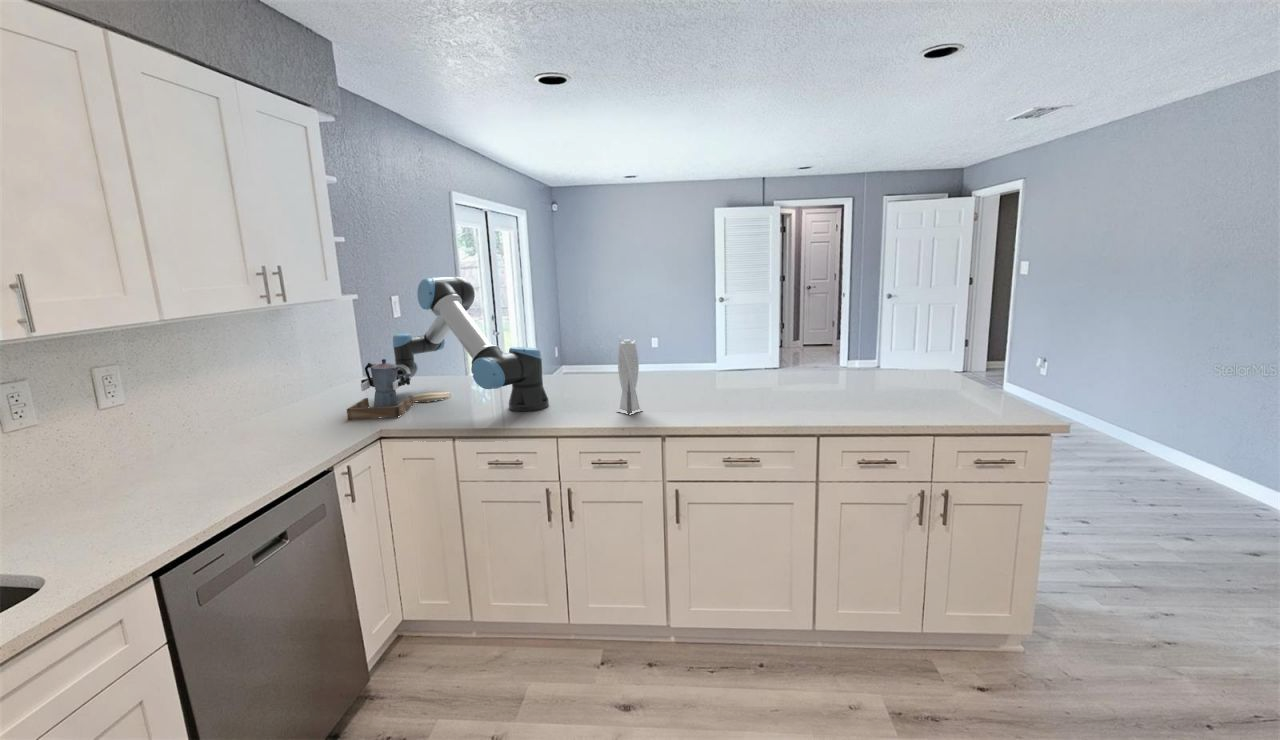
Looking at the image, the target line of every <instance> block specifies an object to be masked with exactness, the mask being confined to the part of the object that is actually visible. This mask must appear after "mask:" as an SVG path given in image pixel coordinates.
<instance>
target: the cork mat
mask: <svg viewBox="0 0 1280 740" xmlns="http://www.w3.org/2000/svg"><path fill="white" fill-rule="evenodd" d="M412 396H413V401H418V402H427V401H435V400H441V399H445V398H448V397H450V396H451V397H452V393H451V392H449V391H443V390H442V391H439V390H438V391H435V390H434V391H427V392H421V393H418V394H415V395H412ZM451 397H450V398H451ZM448 399H449V398H448ZM445 400H446V399H445ZM441 401H442V400H441Z"/></svg>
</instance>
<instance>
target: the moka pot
mask: <svg viewBox="0 0 1280 740" xmlns="http://www.w3.org/2000/svg"><path fill="white" fill-rule="evenodd" d="M369 368H370V372H371V375H370V372H369ZM398 370H399V368H398V365H396V364H394V363H387V360H386V359H385V358H384V359H381V363H378V364H376V363H371V362H367V364H366V366H365V367H364V372H365V375H366V376H367V377H366V379H367V378H368V380H369V384H370V388H371V387H372V388H374V391H375V392H374V399H373V400H374V402H373V407H392V406H397V405H398V404H399V402H398V397H397V396H398V395H397V391H396V390H397V389H396V390H393V382H395V381H396V380H397V372H398ZM370 377H372V378H373V384H374V385H373V384H372V381H371V378H370Z"/></svg>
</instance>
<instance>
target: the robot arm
mask: <svg viewBox="0 0 1280 740" xmlns="http://www.w3.org/2000/svg"><path fill="white" fill-rule="evenodd" d="M416 293H417V294H416V295H417V301H418V304H419V307H421V309H423V310H426V311H428V310H431V311H432V313H433V314H434V315H435V316H436V318H435V319H434V320H433V322H432V324H431V325H430V327H429V328H428V329H427V331H426V332H425V333H424V335H417V336H412V334H411V333H397V334H394V335H392V347H393V353H394V361H395V365H398V368H399V370H398V372H397V380H396V381H395V382H393V390H398V389H399V388H400V387H402V386H405V385H407V386H409V385H411V380H412V379H411V378H413V377H414V376H415V375H416V374H417V372H418V369H419V368H418V367H419V366H418V364H417V363H416V361H415V357H414V355H419V354H424V353H430V352H438V351H440V350H443V349H444V348H445V344H446V341H445V337H446V336H447V335H448V334H449V332H450V331H451V332H452V334H454V336H455V337H456V338H457V340H458V341H459V343H460V344H461V345H462V346H463V348H464V349H465V351H466V352H467V353H468V355H469V356H470V357H471V368H470V370H471V374H472V378H473V381H474V382H475V383H476V385H478V386H479V387H480V388H482V389H484V390H497V389H500V388H502V387H506V386H509V385H511V386H512V387H511V392H510V396H509V399H508V400H509V401H508V409H509V410H511V411H514V412H533V411H540V410H543V409H547V408H548V407H549V405H550V404H549V397H548V395H547V393H546V390H545V387H544V382H543V365H542V363H543V362H542V361H543V360H542V353H541V351H540V349H538V348H536V347H535V348H534V347H525V346H523V347H522V346H520V347H519V346H515V347H513V346H512V347H509V350H508V352H505V353H504V352H503V351H502V349H501V348H500V347H499V346H498V345H495V344H494V345H493V344H492V343H491V342H490V340H488V339H489V338H488V337H486V335H485V334H484V333H483V331H482V329H480V328H479V326H478V325H477V323H476V322H475V321H474V319H473V318H472V317H471V316H470V314H469V313H468V312H467V311H469V309H470V308H471V307H472V305H473V303H474V300H475V296H476V295H475V294H476V293H475V289H474V287H473V284H472V283H471V282H470V281H468V279H466V278H464V277H461V276H446V277H445V276H443V277H429V278H428V277H427V278H424V279H422V280H421V281H420V282H419V284H418V287H417V292H416ZM370 378H371V381H372V384H373V378H372V376H370ZM360 383H361V384H360V388H361V392H365V391H367V390H368V389H369V388H371V386H370V384H369V380H368V378H367V377H366V378H365V379H361V381H360ZM373 385H374V384H373Z"/></svg>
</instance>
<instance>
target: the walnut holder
mask: <svg viewBox="0 0 1280 740" xmlns="http://www.w3.org/2000/svg"><path fill="white" fill-rule="evenodd" d="M413 396H414V395H409V396H408V397H406V398H405V399H404V400H402V401H401V402H400V403H398V405H397V406H392V407H374V406H371V407H370V404H369V403H370V402H369V398H368V397H364V398H363V399H361V400H359V401H358V402H356V403H355V404H353V405H351V406H350V407H348V408H346V415H347V420H348V421H350V420H349V419H357V420H365V419H364V418H378V419H380V418H379V417H398V416H400V415H402V414H403V413H404V412H405V411H407V410H408V409H409V408H410V407H411V406H413V405H415V404H414V402H413ZM368 407H369V408H368ZM413 407H414V406H413ZM411 408H412V407H411ZM411 408H410V409H411ZM410 409H409V410H410ZM409 410H408V411H409ZM408 411H407V412H408ZM405 413H406V412H405ZM405 413H404V414H405ZM404 414H403V415H404ZM403 415H402V416H403ZM362 418H363V419H362Z"/></svg>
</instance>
